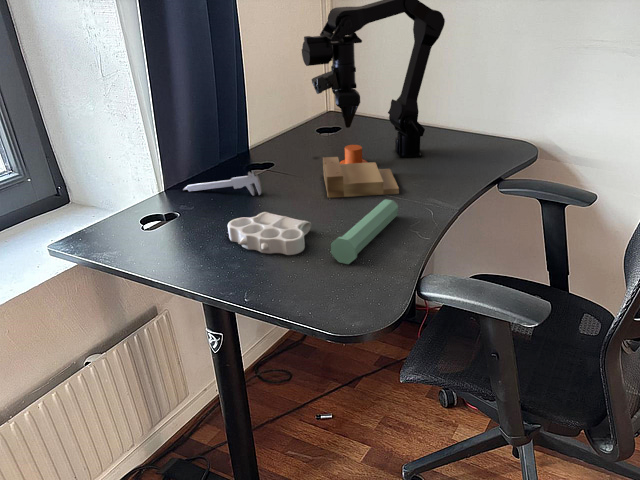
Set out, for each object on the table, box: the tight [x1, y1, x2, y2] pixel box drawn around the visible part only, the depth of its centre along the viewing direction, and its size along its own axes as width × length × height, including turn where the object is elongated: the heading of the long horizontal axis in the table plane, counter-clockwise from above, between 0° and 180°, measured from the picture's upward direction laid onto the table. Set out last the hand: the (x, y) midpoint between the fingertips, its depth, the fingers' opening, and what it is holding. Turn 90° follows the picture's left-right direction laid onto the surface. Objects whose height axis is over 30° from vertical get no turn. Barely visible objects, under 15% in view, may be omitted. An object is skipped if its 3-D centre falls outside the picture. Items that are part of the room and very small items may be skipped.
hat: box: [339, 144, 369, 164], centre depth 171 cm, size 8×8×5 cm
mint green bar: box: [330, 198, 399, 265], centre depth 133 cm, size 6×6×25 cm
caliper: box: [182, 170, 263, 196], centre depth 153 cm, size 20×1×6 cm, turn 83°
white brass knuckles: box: [227, 211, 312, 256], centre depth 132 cm, size 3×18×15 cm
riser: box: [322, 156, 400, 199], centre depth 158 cm, size 18×14×6 cm
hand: (346, 122), depth 166 cm, fingers open, 9 cm apart
